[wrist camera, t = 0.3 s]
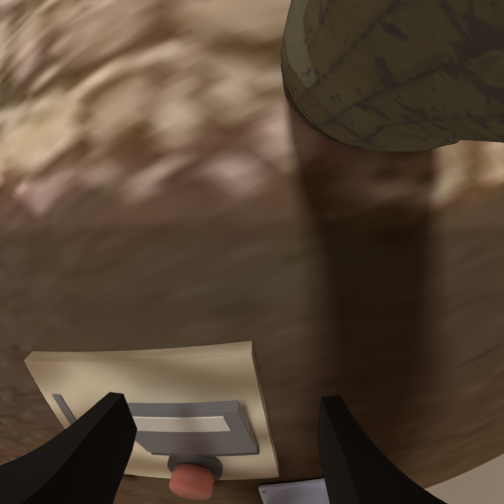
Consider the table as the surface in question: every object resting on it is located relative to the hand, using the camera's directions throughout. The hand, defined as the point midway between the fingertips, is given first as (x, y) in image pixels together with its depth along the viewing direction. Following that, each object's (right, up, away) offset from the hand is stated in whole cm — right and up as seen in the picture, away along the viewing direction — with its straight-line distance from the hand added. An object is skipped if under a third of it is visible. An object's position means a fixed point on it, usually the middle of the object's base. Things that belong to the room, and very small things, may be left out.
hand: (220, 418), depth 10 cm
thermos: (+7, +16, +5) cm, 18 cm away
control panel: (-7, -8, +14) cm, 18 cm away
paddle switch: (-4, -6, +10) cm, 12 cm away
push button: (-4, -13, +12) cm, 18 cm away
